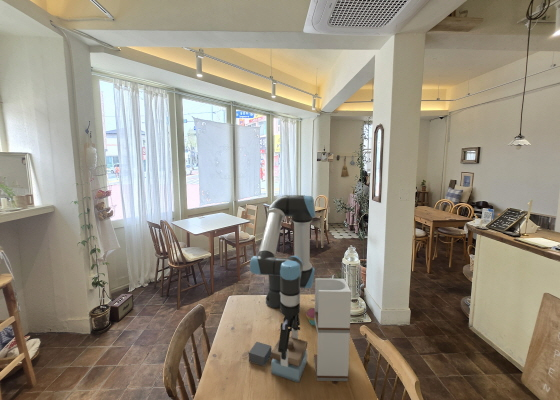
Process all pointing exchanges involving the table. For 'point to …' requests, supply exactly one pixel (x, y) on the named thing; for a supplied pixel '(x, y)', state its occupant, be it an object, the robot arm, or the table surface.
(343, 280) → the white stacked pedestal
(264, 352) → the block
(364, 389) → the table surface
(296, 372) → the dish
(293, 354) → the lid
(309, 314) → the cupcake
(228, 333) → the table surface
